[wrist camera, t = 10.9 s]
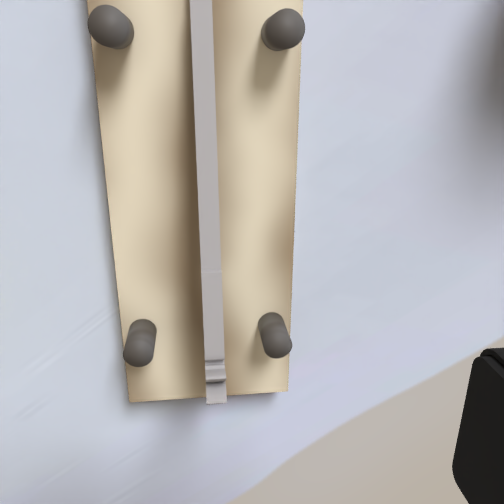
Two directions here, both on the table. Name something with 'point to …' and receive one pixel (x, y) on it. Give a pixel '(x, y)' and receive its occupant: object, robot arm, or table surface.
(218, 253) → the caliper
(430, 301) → the table surface
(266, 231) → the tool rest
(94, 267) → the table surface
